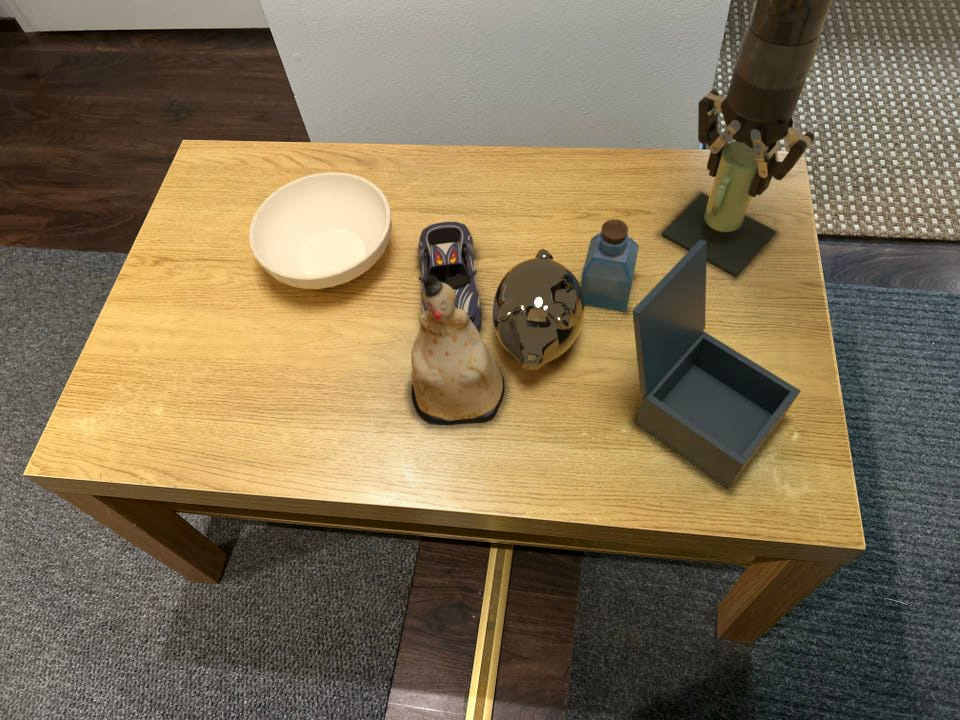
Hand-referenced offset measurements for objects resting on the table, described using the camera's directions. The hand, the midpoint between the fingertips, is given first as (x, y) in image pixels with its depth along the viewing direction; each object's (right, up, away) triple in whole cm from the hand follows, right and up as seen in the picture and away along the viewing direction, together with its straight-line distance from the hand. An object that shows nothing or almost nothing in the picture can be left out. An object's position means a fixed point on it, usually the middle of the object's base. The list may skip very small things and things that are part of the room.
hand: (734, 182), depth 88 cm
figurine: (-35, -26, -1) cm, 44 cm away
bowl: (-54, -8, +12) cm, 56 cm away
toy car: (-37, -13, +7) cm, 40 cm away
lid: (-12, -19, -15) cm, 27 cm away
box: (-5, -30, -6) cm, 31 cm away
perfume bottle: (-15, -13, +5) cm, 21 cm away
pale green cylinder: (+1, -3, +5) cm, 6 cm away
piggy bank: (-25, -20, +2) cm, 32 cm away
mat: (+1, -5, +8) cm, 10 cm away
